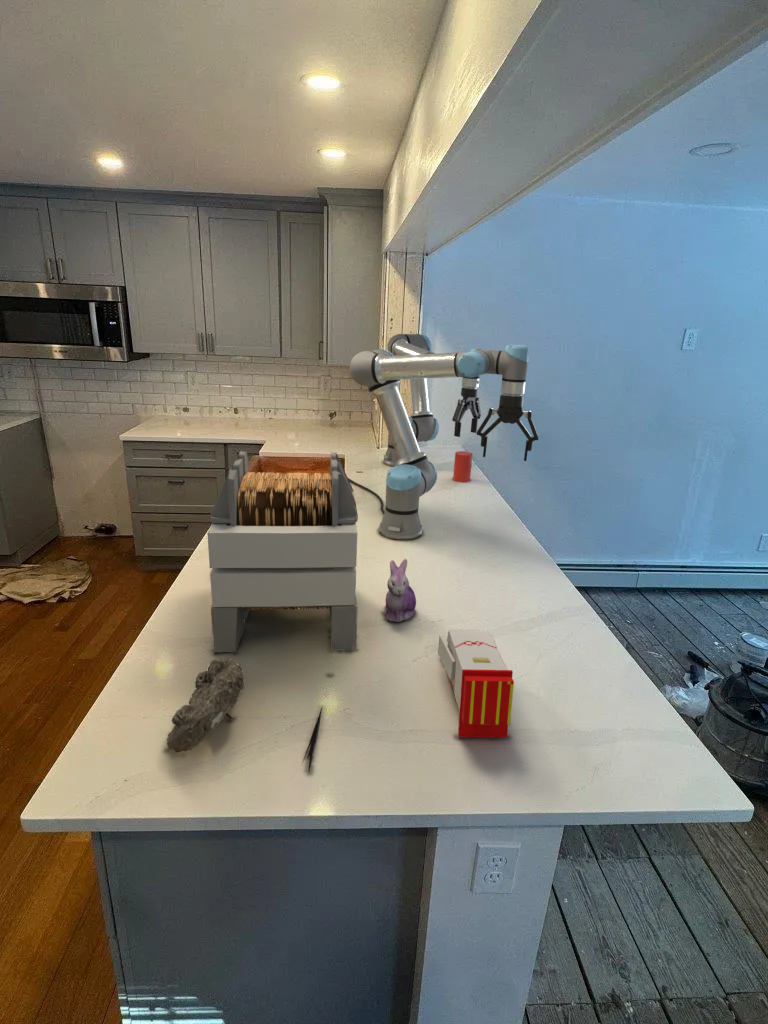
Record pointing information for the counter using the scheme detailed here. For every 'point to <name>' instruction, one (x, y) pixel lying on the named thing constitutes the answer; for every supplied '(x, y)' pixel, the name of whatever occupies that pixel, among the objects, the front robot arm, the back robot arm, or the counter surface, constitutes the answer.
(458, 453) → the cylinder
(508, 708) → the toy
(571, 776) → the counter surface
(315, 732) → the feather
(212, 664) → the grey rough elongated piece
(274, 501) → the grey record crate stand
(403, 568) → the figurine
